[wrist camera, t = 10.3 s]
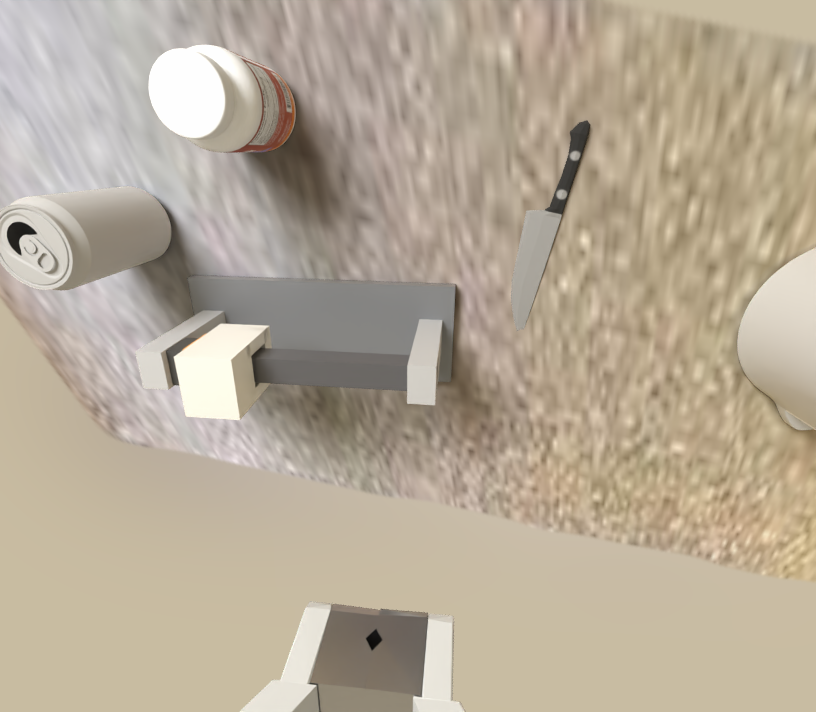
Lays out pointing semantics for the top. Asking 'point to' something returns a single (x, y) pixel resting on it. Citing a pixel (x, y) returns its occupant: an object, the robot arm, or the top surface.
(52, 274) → the beverage can
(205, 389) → the cream sliding block
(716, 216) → the top surface
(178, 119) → the pill bottle
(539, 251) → the chef's knife
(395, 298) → the grey slider rail base
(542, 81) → the top surface
